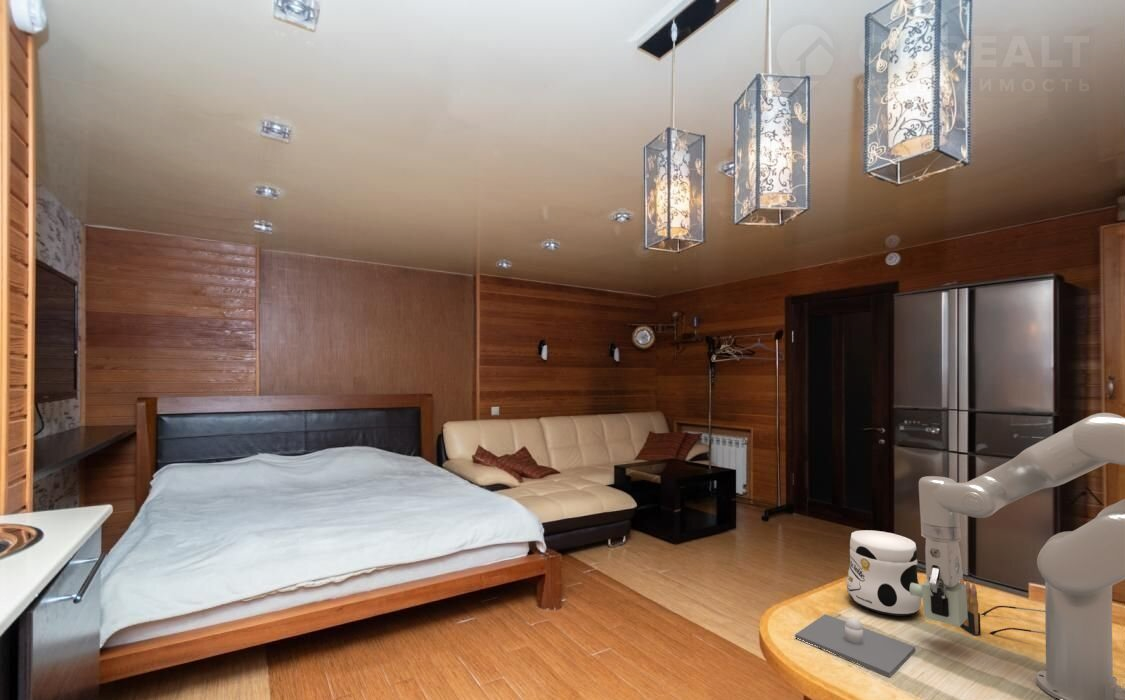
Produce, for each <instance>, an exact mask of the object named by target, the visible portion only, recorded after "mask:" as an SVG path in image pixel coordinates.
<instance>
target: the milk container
mask: <svg viewBox="0 0 1125 700" xmlns="http://www.w3.org/2000/svg"><path fill="white" fill-rule="evenodd" d="M916 544H917V543H916V542H915V541H913V540H912V539H910V538H908V537H905V536H902V535H899V534H896V533H892V532H886V531H880V530H871V529H870V530H868V529H866V530H854V531H852V532H851V535H850V540H849V547H850V548H849V561H850V562H849V568H848V571H847V576H846V580H845V581H846V583H845V584H846V589H847V593H848V596H849V597H850V598H851V600H852V601H853V602H854V603H855V604H857V605H859V606H860V607H862V608H865V609H866V610H869V611H872V612H876V613H878V614H882V615H887V616H888V615H889V616H894V617H895V616H897V617H898V616H900V617H902V616H903V617H904V616H910V615H914V614H916V613H917V612H919V610H920V608H921V604H922V601H923V598H922V597H918V596H914V595H911V594H910V584H911V583H916V584H920V583H919V579H918V559H917V558H918V553H917V545H916Z"/></svg>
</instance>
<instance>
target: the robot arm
mask: <svg viewBox="0 0 1125 700" xmlns="http://www.w3.org/2000/svg"><path fill="white" fill-rule="evenodd" d="M1107 464H1116V465H1120V466H1125V417H1124V416H1122V415H1119V414H1115V413H1112V412H1099V413H1098V412H1097V413H1095V414H1092V415H1089V416H1087V417H1085V418H1083V419H1081V420H1079V421H1077V422H1075V423H1073V424H1072V425H1069V426H1067V427H1066V428H1064V429H1062V430H1060V431H1058V432H1057V433H1053V434H1052V435H1050V436H1048V437H1047V438H1044V439H1043V440H1040V441H1039V442H1037V443H1035V444H1032V445H1031V446H1028V447H1027V448H1025V449H1024V450H1022V451H1021V452H1020V453H1019V454H1018V455H1016V456H1015V457H1013V458H1011V459H1010V460H1008V461H1007V462H1004V463H1003V464H1000V465H999V466H997V467H995V468H993V469H991V470H989V471H988V472H985V473H983V474H982V475H979V476H977V477H975V478H972V479H971V480H969V481H966V482H956V481H955V480H954V479H952V478H950V477H945V476H936V475H932V476H931V475H929V476H928V475H927V476H923V477H921V478H920V479H919V480H918V496H919V497H918V498H919V515H920V532H921V533H920V535H921V537H923V538H924V539H925V547H924V548H925V574H926V580H928V581H929V585H930V595H931V612H932V613H933V614H937V615H941V616H944V617H948V616H949V608H948V599H947V598H946V590H947V585H948V586H949V587H953V586H955V585H956V584H957V583H958V582H959V583H960V580H961V579H962V578H963V576H964V574H963V573H964V572H963V563H962V556H961V548H960V542H961V541H962V533H961V531H962V530H961V518H960V517H961V515H964V516H968V517H971V518H977V519H983V518H988V517H990V516H992V515H994V514H995V513H996V512H997V511H999V510H1000V509H1001V508H1004V507H1005V506H1007V505H1009V504H1011V503H1013V502H1015V501H1017V500H1020V499H1022V498H1025V497H1027V496H1029V495H1030V494H1033V493H1036V492H1038V491H1041V490H1043V489H1048V488H1056V487H1058V486H1059V487H1060V486H1061V485H1064V484H1067V483H1068V482H1070V481H1072V480H1075V479H1077V478H1079V477H1081V476H1083V475H1085V474H1088V473H1089V472H1091V471H1094V470H1095V469H1096V470H1097V469H1098V468H1101V467H1103V466H1105V465H1107ZM960 514H961V515H960ZM1036 560H1037V561H1036V565H1037V569H1038V572H1039V574H1040V575H1041V577H1042V579H1044V581H1045V587H1044V589H1045V590H1044V591H1045V593H1044V599H1045V600H1044V602H1045V603H1044V604H1045V607H1044V608H1045V609H1044V610H1045V612H1044V615H1045V617H1044V620H1045V632H1046V634H1045V670H1040V671H1038V672H1037V673H1035V682H1036V685H1038V687H1040V689H1041V690H1042V691H1044V692H1045V693H1046V694H1048V695H1050V696H1051V697H1053V698H1055V699H1056V698H1058V699H1063V700H1125V688H1124V687H1122V685H1119V684H1117V682H1118V681H1117V677H1116V676H1114V675H1113V674H1114V673H1113V672H1114V669H1113V665H1114V664H1113V662H1114V661H1113V659H1114V658H1113V586H1114V585H1116V584H1118V583H1121V582H1122V581H1124V580H1125V498H1123V499H1122V500H1119V501H1118V502H1116V503H1113V504H1109V505H1108V506H1106V507H1105V508H1103V509H1101V510H1100V511H1099V512H1098V514H1097V515H1096V517H1094V518H1093V519H1091V520H1090V521H1088V522H1087V523H1085V524H1083V525H1081V526H1080V527H1078V528H1076V529H1074V530H1072V531H1071V530H1070V531H1069V530H1068V531H1062V532H1058V533H1056V534H1054V535H1052V536H1051V537H1050V538H1049V539H1048V540H1047V541H1046V542H1045V544H1044V545H1043V547H1042V548H1041V549H1040V551H1039V553H1038V555H1037V559H1036ZM938 581H943V582H944V584H943V583H938ZM938 586H941V587H942V591H941V589H940V588H938ZM1058 699H1057V700H1058Z"/></svg>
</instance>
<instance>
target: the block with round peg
mask: <svg viewBox="0 0 1125 700" xmlns="http://www.w3.org/2000/svg"><path fill="white" fill-rule="evenodd" d="M938 583H943V584H944V582H943V581H938ZM938 588H940V589H941V591H942V587H941V586H938ZM910 594H911V595H914V596H918V597H922V609H923V617H924V618H925V619H930V620H932V621H936V622H939V623H944V624H947V625H951V626H955V627H957V628H961V627H960V626H961V625H962V624H963V623H964V621H965V620H966V619H967V618H968V613H967V597H966V583H965V584H960V582H959V583H957V584H956V585H955V586H953V587H949V586H948V585H947V590H946V598H947V599H948V608H949V616H948V617H944V616H941V615H937V614H933V613H932V612H931V595H930V585H929V581H928V580H927V579H926V580H925V581H924V582H922V583H921V584H920V583H919V584H916V583H911V584H910Z"/></svg>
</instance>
